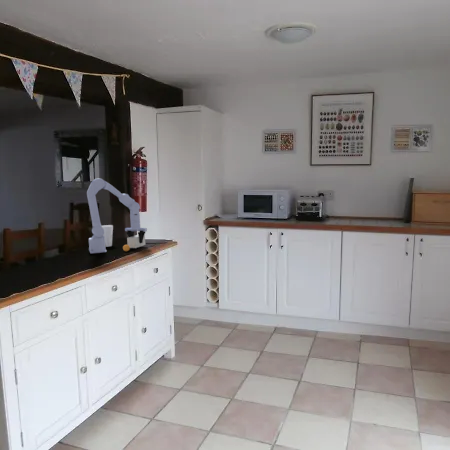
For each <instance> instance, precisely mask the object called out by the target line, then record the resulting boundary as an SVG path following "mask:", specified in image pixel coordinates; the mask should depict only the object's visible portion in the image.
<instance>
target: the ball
mask: <svg viewBox="0 0 450 450" xmlns="http://www.w3.org/2000/svg"><path fill="white" fill-rule="evenodd" d="M122 249H123V251H124V252H128V251H130V250H131V248H130V247H129V245H128V244H124V245H123V246H122Z"/></svg>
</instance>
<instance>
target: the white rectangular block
mask: <svg viewBox="0 0 450 450" xmlns="http://www.w3.org/2000/svg"><path fill="white" fill-rule="evenodd" d="M126 240H127V241H126V242H127V244H126V245H129V247H130V249H137V248H140V247H143V246H146V235H144V237H143V242H142V243H140V242H139V235H138V234H136V235H134V236H132V237H129V236H128V237H127V238H126Z"/></svg>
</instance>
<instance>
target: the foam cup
mask: <svg viewBox="0 0 450 450" xmlns="http://www.w3.org/2000/svg"><path fill="white" fill-rule="evenodd" d="M101 226H102V228H103V229H104V235H103V236H105V248H106V247H112V246H113V233H114V231H113V230H114V225H113V224H108V225H107V224H106V225H105V224H104V225H101Z"/></svg>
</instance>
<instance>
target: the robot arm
mask: <svg viewBox="0 0 450 450" xmlns="http://www.w3.org/2000/svg"><path fill="white" fill-rule="evenodd" d="M102 189H103V190H107V191H109V192H110V193H111V194H113V195H114V196H116V197H117V198H118V200H119V202H120V203H122V204H123V205H124V206H125V207H127V208H128V209H129V212H130V214H129V217H130V227H125V228H124V231H125V232H126V235H127V236H128V238H129V237H132V236H135V232H137V235H139V242H140V243H142V242H143V237H144V235H145V234H146V232H148V231H147V230H148V229H147V228H146V227H141V217H140V209H141V206H140V203H139V202H136V201H135V199H134V198H132V197H130V195H129V194H128V193H121V191H120V190H118V189H117V188H116V187H115V186H113V185H112V184H110V183H109V182H108V181H106V180H104V179H103V178H101V177H100V178H98V177H96V178H94V179H93V180H92V181H91V182H90V184H89V186H88V189H87V191H86V197H87V203H88V206H89V207H88V208H89V212H90V217H91V218H90V219H91V224H92V228H91V233H92V236H91V237H89V238H88V246H89V247H88V251H89V253H90V254H100V253H107V251H108V250H107V249H106V247H105V236H103V235H104V229H103V228H102V226H103V225H102V223H101V218H100V213H99V208H98V207H99V206H98V202H97V197H96V195H97V194H98V192H99V191H101V190H102ZM145 236H146V235H145Z"/></svg>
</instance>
